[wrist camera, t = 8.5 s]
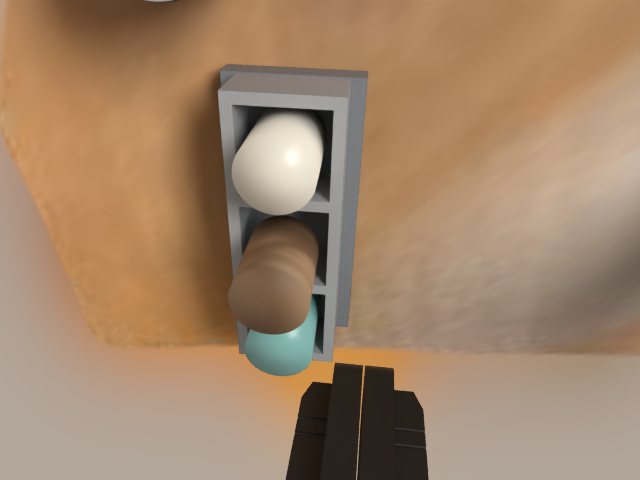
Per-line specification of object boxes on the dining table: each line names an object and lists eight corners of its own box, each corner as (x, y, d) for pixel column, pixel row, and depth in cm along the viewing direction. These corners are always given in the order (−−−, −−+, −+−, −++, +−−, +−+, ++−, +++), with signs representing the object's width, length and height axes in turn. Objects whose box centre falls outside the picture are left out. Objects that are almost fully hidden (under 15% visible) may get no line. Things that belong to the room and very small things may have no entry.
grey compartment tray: (367, 71, 34) (366, 97, 28) (348, 312, 45) (345, 364, 40) (227, 64, 34) (199, 87, 29) (244, 303, 46) (226, 353, 40)
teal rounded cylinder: (321, 275, 39) (312, 329, 34) (319, 321, 42) (311, 378, 36) (260, 270, 40) (242, 323, 34) (262, 316, 42) (246, 372, 37)
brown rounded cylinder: (320, 218, 33) (310, 273, 28) (318, 276, 36) (308, 337, 30) (248, 212, 33) (224, 266, 28) (252, 271, 36) (230, 331, 31)
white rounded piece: (327, 104, 32) (318, 138, 26) (325, 173, 35) (316, 217, 29) (253, 99, 32) (228, 132, 27) (256, 169, 35) (234, 212, 29)
